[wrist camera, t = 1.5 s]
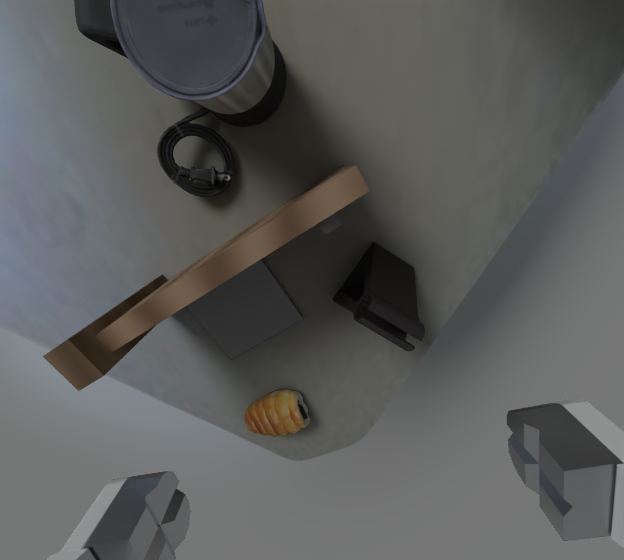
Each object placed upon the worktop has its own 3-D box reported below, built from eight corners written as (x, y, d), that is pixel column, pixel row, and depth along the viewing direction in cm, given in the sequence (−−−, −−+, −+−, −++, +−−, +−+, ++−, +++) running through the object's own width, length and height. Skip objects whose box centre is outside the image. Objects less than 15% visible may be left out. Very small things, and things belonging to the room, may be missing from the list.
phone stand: (370, 321, 42) (388, 379, 31) (332, 298, 41) (336, 349, 30) (413, 267, 39) (450, 308, 28) (373, 241, 38) (396, 272, 27)
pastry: (257, 432, 49) (252, 453, 46) (238, 398, 47) (231, 418, 44) (313, 416, 48) (313, 436, 44) (296, 380, 46) (294, 399, 42)
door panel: (338, 157, 35) (351, 151, 20) (360, 196, 36) (388, 218, 21) (144, 286, 41) (42, 356, 26) (170, 316, 42) (87, 399, 27)
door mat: (254, 248, 39) (254, 249, 39) (303, 317, 42) (303, 319, 42) (180, 296, 41) (178, 297, 41) (231, 358, 44) (230, 359, 44)
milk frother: (280, 17, 31) (247, -105, 17) (302, 184, 36) (290, 195, 22) (141, 39, 32) (1, -58, 18) (181, 199, 37) (98, 219, 23)
